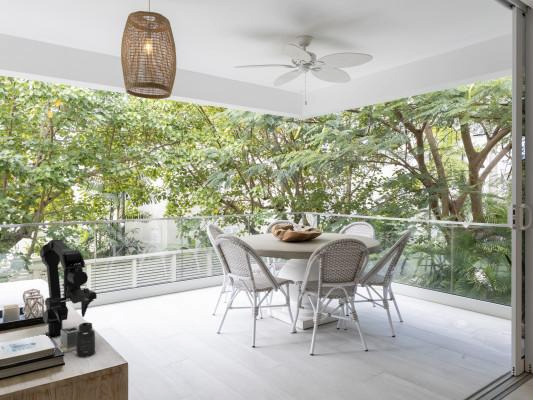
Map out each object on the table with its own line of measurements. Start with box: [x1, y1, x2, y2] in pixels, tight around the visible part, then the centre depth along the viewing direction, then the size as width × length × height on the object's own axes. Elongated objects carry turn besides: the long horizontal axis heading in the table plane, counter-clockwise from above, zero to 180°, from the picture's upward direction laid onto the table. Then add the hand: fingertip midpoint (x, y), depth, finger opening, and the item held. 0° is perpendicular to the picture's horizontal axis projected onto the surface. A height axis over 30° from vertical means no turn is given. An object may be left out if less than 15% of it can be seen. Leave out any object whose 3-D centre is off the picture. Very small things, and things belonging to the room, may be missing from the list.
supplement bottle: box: [76, 322, 96, 358], centre depth 167 cm, size 7×7×12 cm
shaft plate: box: [58, 344, 77, 353], centre depth 174 cm, size 7×10×5 cm
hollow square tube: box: [60, 325, 79, 349], centre depth 174 cm, size 6×6×6 cm
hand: (71, 319), depth 174 cm, fingers open, 9 cm apart
